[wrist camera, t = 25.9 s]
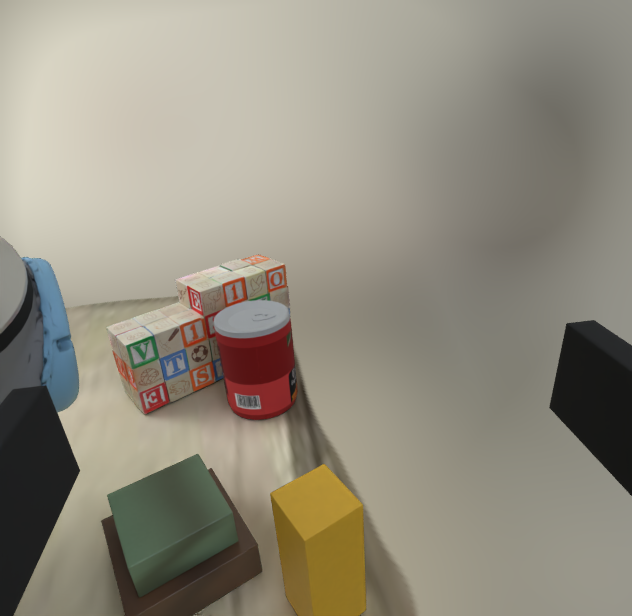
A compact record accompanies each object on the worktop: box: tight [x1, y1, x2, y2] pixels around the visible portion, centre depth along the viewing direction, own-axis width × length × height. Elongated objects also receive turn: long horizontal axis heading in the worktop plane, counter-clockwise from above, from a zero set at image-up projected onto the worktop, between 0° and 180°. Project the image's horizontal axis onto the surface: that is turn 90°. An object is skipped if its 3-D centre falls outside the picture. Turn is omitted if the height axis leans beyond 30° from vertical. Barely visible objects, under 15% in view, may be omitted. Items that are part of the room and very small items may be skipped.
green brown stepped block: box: [101, 454, 262, 616], centre depth 33 cm, size 9×9×6 cm
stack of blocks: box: [106, 255, 291, 414], centre depth 56 cm, size 21×6×12 cm, turn 131°
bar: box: [270, 464, 366, 616], centre depth 29 cm, size 4×4×10 cm
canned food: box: [214, 300, 297, 420], centre depth 50 cm, size 8×8×11 cm
